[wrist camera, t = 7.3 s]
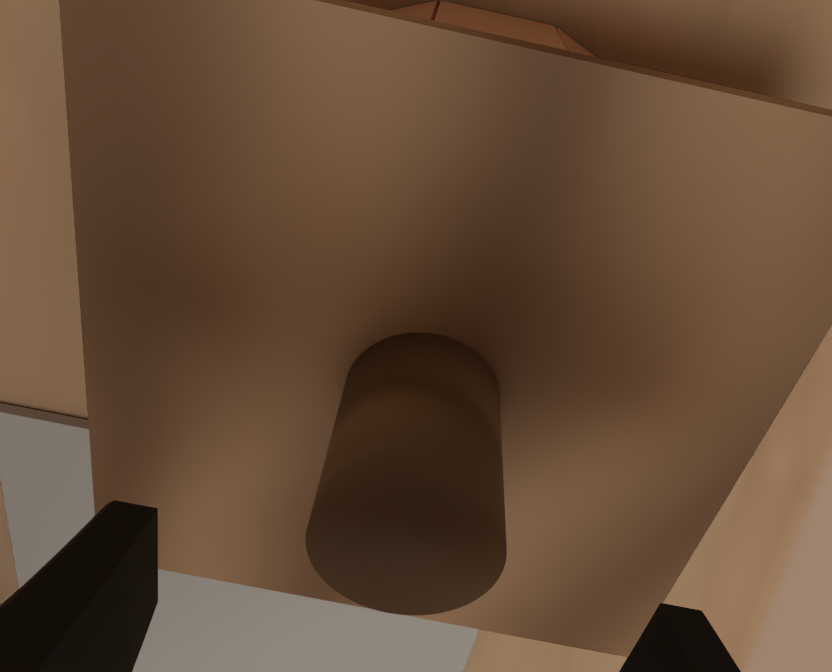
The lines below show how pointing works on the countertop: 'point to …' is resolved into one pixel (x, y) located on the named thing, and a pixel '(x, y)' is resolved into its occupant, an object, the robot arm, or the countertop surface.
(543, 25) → the bowl
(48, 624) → the robot arm
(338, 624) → the mat
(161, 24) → the lid
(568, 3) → the countertop surface
